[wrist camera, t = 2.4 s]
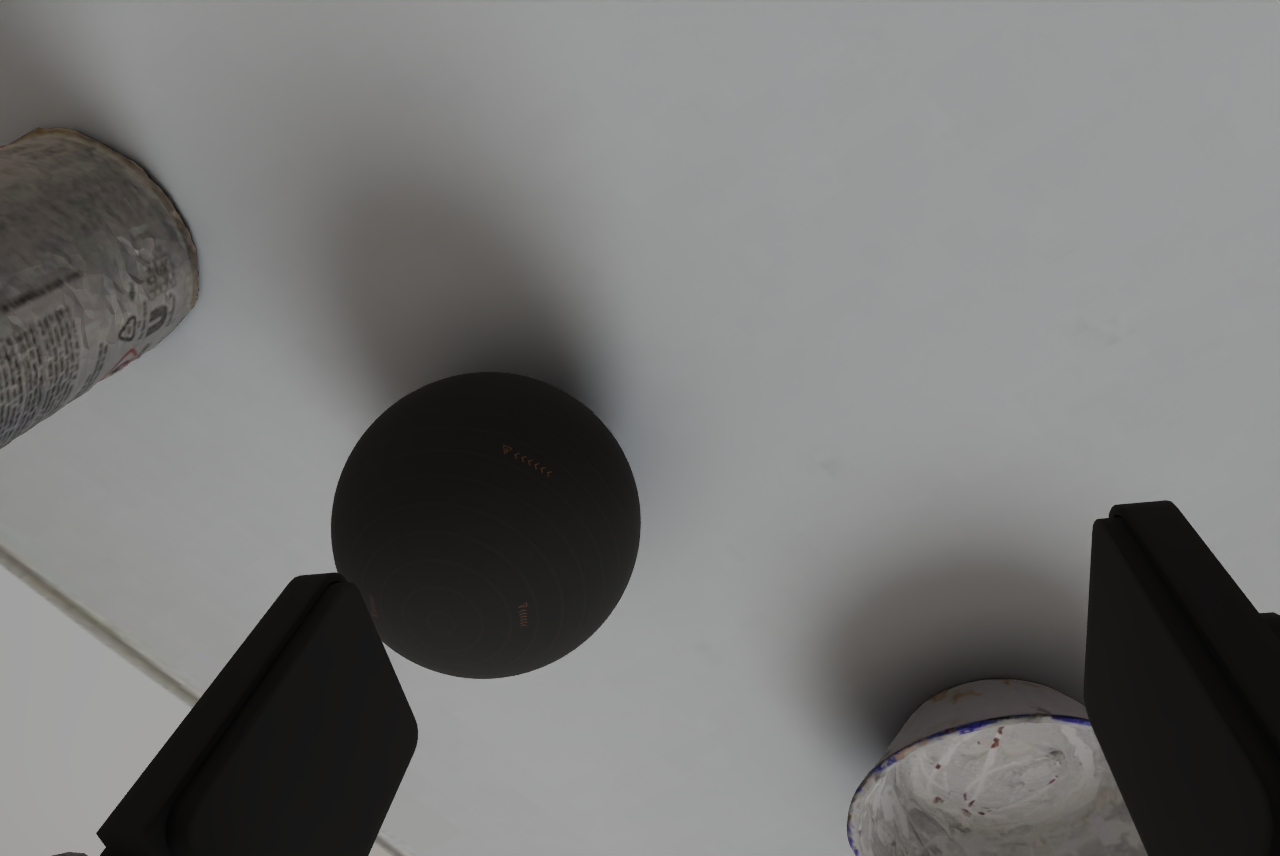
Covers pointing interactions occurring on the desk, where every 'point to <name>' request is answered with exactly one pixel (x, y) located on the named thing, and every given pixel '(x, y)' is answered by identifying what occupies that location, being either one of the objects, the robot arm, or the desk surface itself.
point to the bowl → (993, 781)
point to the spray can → (81, 271)
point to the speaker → (487, 524)
